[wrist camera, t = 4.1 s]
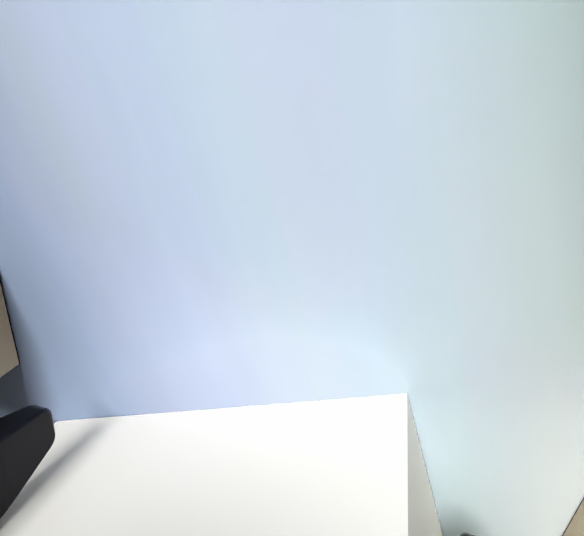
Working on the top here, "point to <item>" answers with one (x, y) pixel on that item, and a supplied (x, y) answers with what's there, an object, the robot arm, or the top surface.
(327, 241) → the top surface
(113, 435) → the cream block
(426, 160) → the top surface
